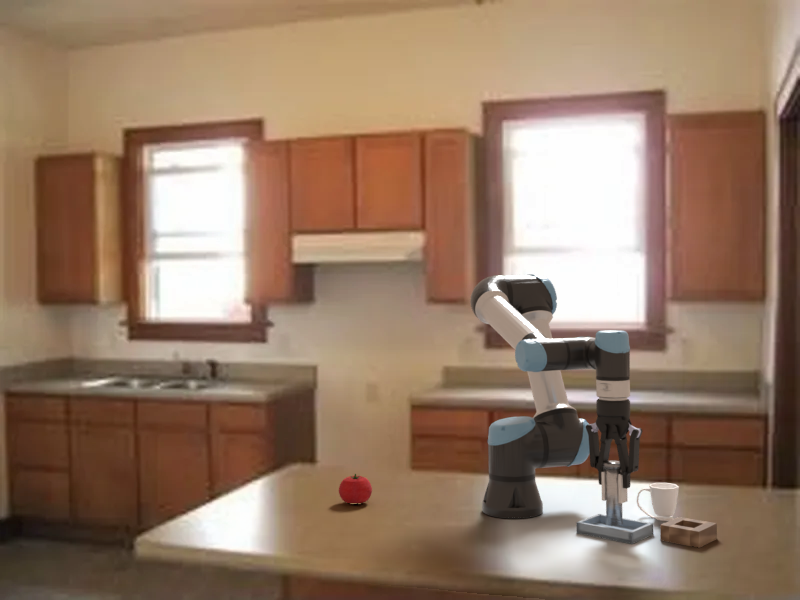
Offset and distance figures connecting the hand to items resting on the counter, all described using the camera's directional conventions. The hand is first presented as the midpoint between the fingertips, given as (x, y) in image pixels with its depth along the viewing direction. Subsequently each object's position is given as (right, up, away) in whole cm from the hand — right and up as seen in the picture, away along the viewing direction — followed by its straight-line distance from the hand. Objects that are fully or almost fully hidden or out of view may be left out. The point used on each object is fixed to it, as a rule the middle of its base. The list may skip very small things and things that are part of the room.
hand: (614, 500), depth 211 cm
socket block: (+15, -7, -6) cm, 18 cm away
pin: (0, -5, 0) cm, 5 cm away
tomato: (-61, -8, +33) cm, 70 cm away
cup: (+14, -7, +14) cm, 21 cm away
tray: (0, -8, 0) cm, 8 cm away
